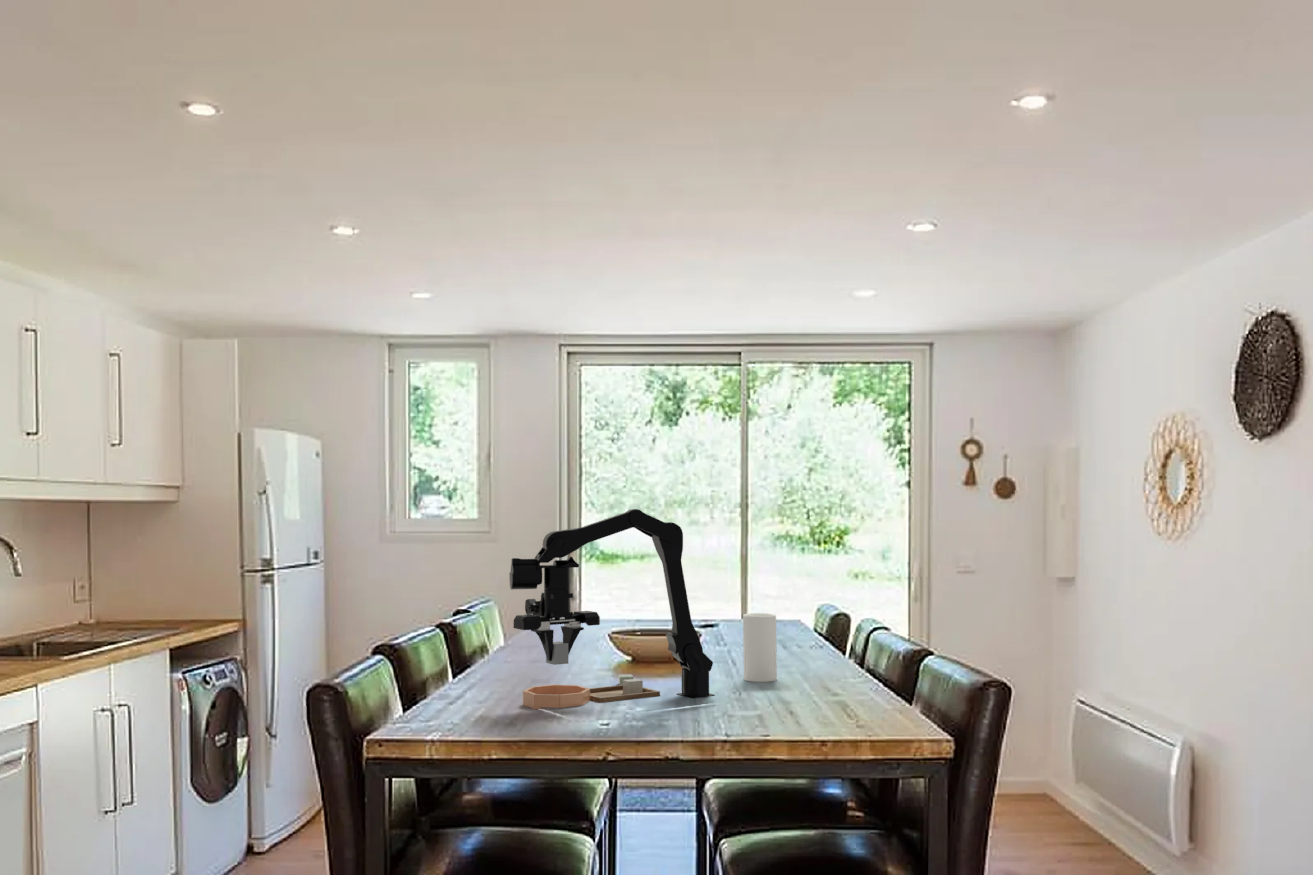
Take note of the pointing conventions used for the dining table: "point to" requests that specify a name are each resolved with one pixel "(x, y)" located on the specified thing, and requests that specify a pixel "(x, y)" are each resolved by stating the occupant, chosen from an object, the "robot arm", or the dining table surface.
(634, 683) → the grey small block
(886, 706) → the dining table surface
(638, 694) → the tray
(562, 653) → the grey block
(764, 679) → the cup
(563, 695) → the dish
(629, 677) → the pale green block
